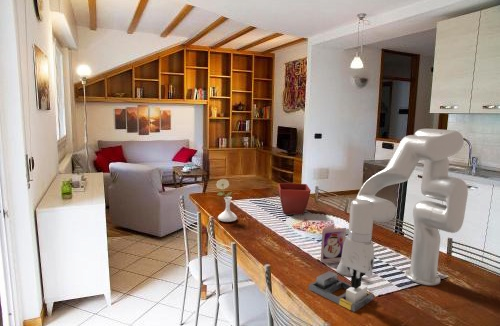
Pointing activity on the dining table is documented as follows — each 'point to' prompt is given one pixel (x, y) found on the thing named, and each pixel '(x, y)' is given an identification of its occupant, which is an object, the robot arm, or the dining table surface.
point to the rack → (330, 284)
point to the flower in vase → (227, 214)
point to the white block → (356, 293)
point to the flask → (342, 269)
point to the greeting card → (332, 243)
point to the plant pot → (294, 197)
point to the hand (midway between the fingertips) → (355, 286)
